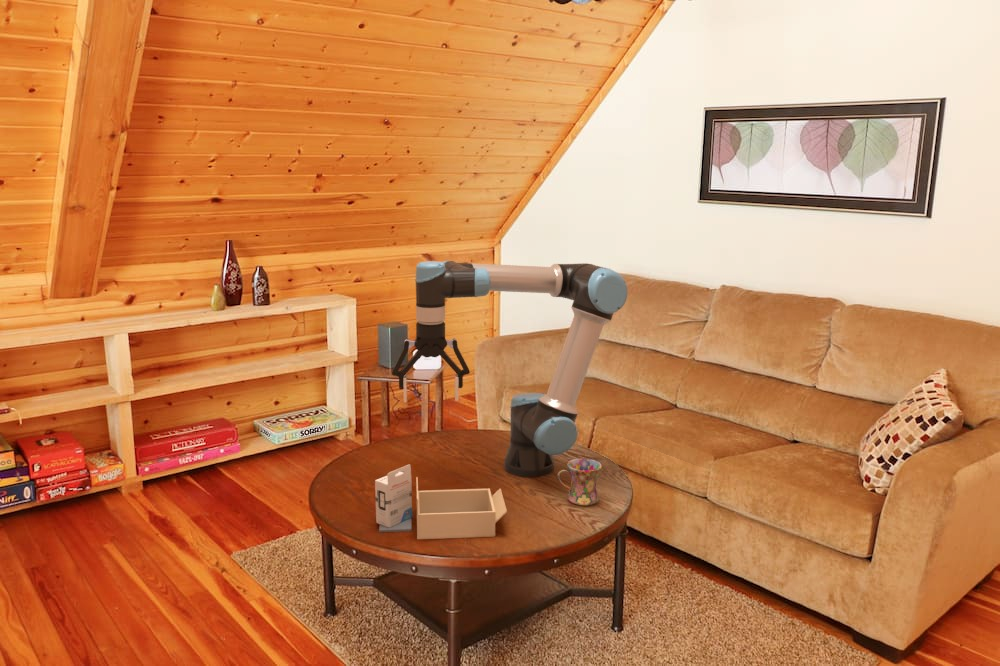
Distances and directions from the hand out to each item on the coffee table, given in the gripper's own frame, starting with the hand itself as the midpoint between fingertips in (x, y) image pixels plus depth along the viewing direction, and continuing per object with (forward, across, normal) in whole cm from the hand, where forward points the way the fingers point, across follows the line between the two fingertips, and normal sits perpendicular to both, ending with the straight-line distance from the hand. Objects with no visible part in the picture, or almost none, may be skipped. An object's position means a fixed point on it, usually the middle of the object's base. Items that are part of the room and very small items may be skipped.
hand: (431, 400), depth 216 cm
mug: (+29, -40, +3) cm, 49 cm away
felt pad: (+29, +10, +12) cm, 33 cm away
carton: (+29, -7, +14) cm, 32 cm away
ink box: (+28, +10, +12) cm, 32 cm away
